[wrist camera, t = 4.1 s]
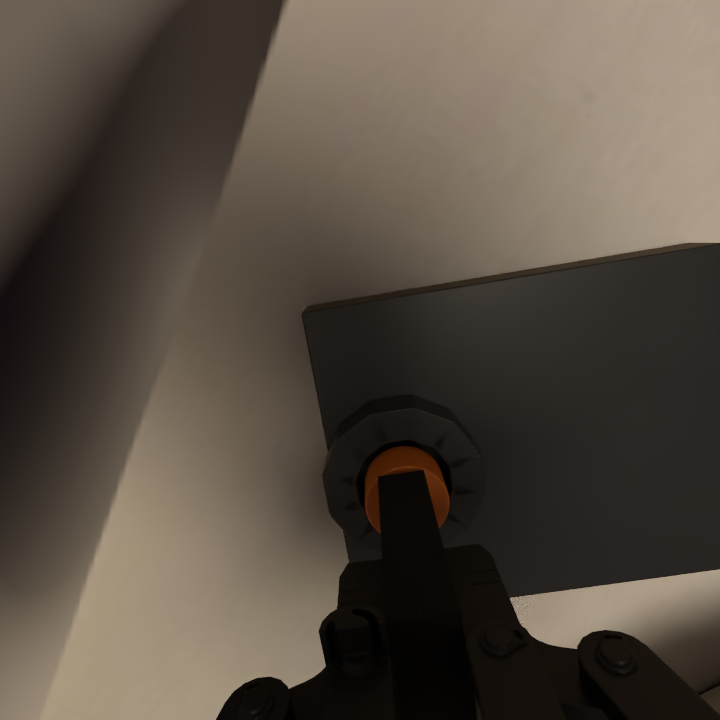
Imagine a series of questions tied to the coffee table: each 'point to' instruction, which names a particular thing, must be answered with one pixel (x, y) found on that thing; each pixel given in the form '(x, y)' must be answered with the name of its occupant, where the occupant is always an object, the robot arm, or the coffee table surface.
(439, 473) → the button
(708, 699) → the bowl
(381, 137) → the coffee table surface
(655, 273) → the scale
